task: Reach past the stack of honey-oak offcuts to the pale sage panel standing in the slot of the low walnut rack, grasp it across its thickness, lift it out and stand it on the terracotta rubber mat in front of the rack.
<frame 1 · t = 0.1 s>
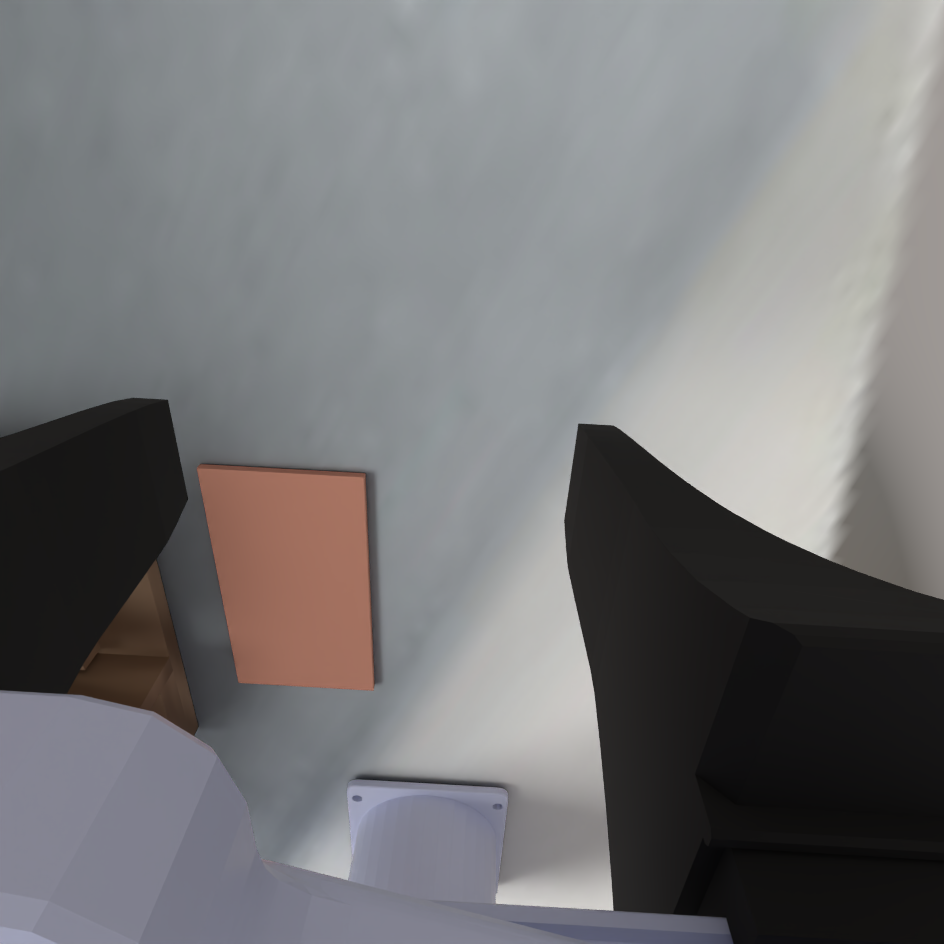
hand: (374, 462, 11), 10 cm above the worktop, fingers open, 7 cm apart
rack: (60, 600, 27), on the worktop
mat: (296, 586, 26), on the worktop
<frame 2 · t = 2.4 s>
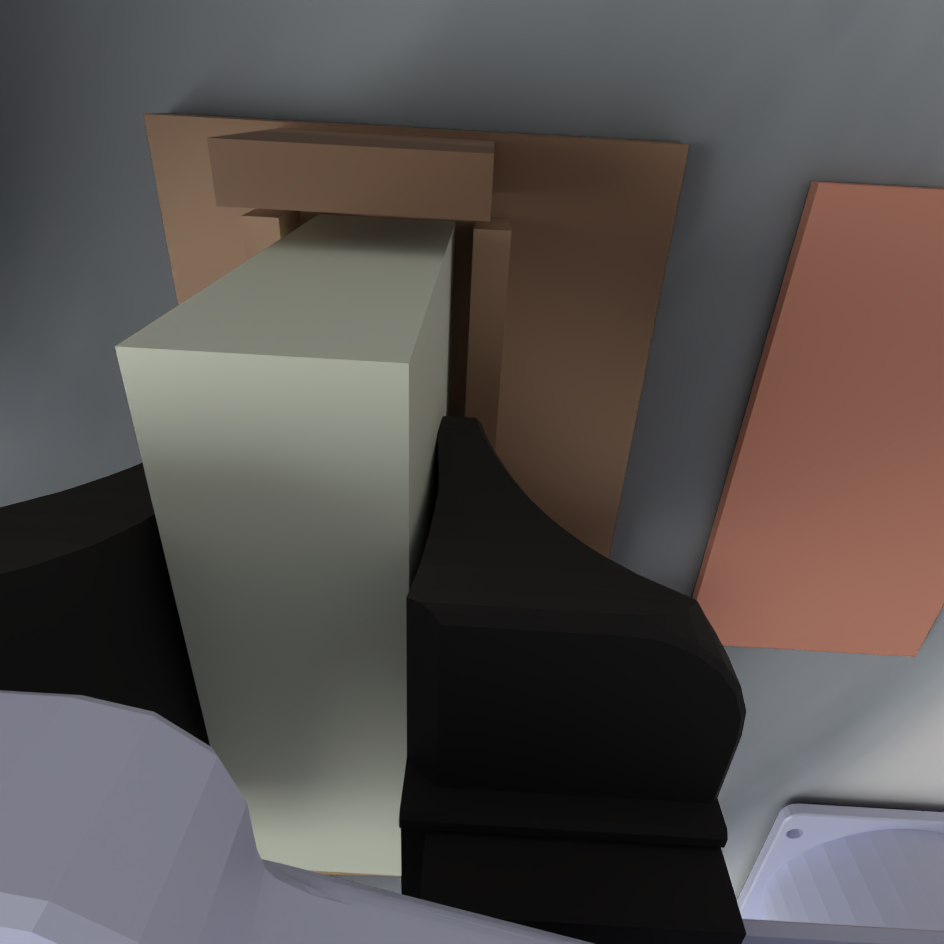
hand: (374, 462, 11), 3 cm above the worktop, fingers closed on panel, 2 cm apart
rack: (418, 490, 15), on the worktop
panel: (390, 414, 13), point 1 cm above the worktop, touching gripper, rack
mat: (869, 459, 14), on the worktop
when the fingers open (3 cm above the worktop, at t = 5.7 s): panel stays where it is, resting on mat.
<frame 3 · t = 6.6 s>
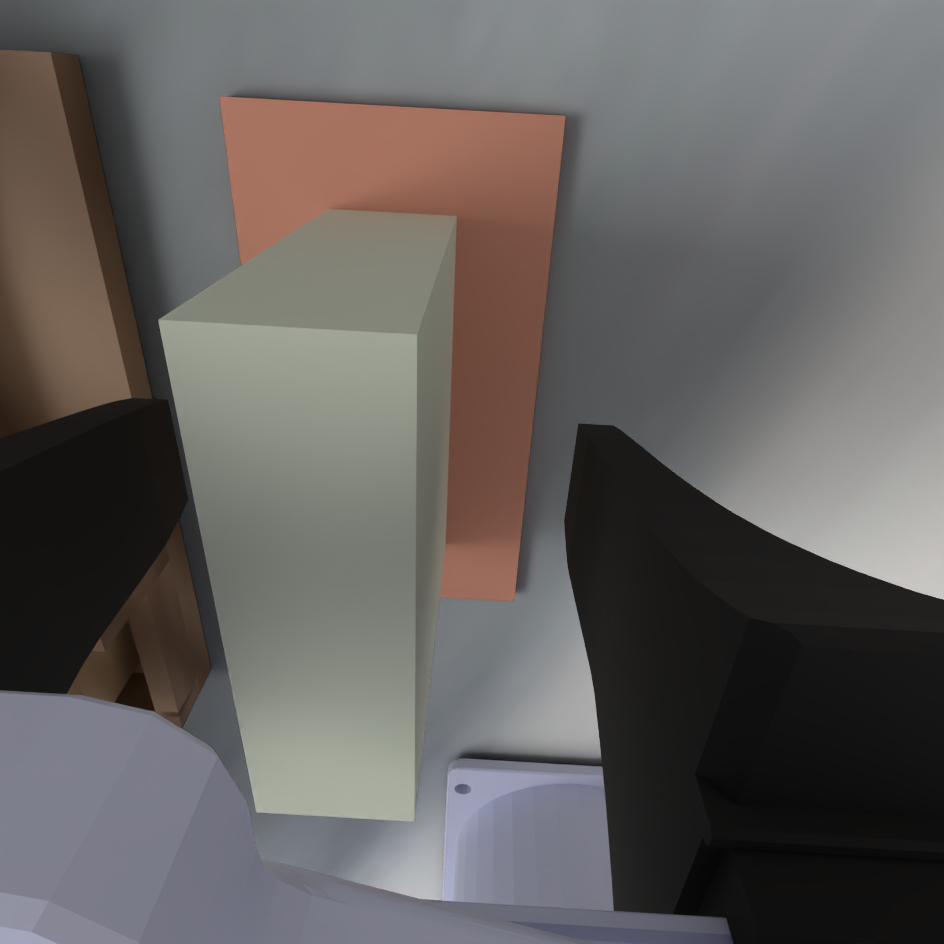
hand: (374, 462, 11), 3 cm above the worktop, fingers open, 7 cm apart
panel: (395, 399, 14), resting on mat
mat: (397, 393, 14), on the worktop
offcut lower: (11, 611, 17), point 1 cm above the worktop, touching offcut upper, rack
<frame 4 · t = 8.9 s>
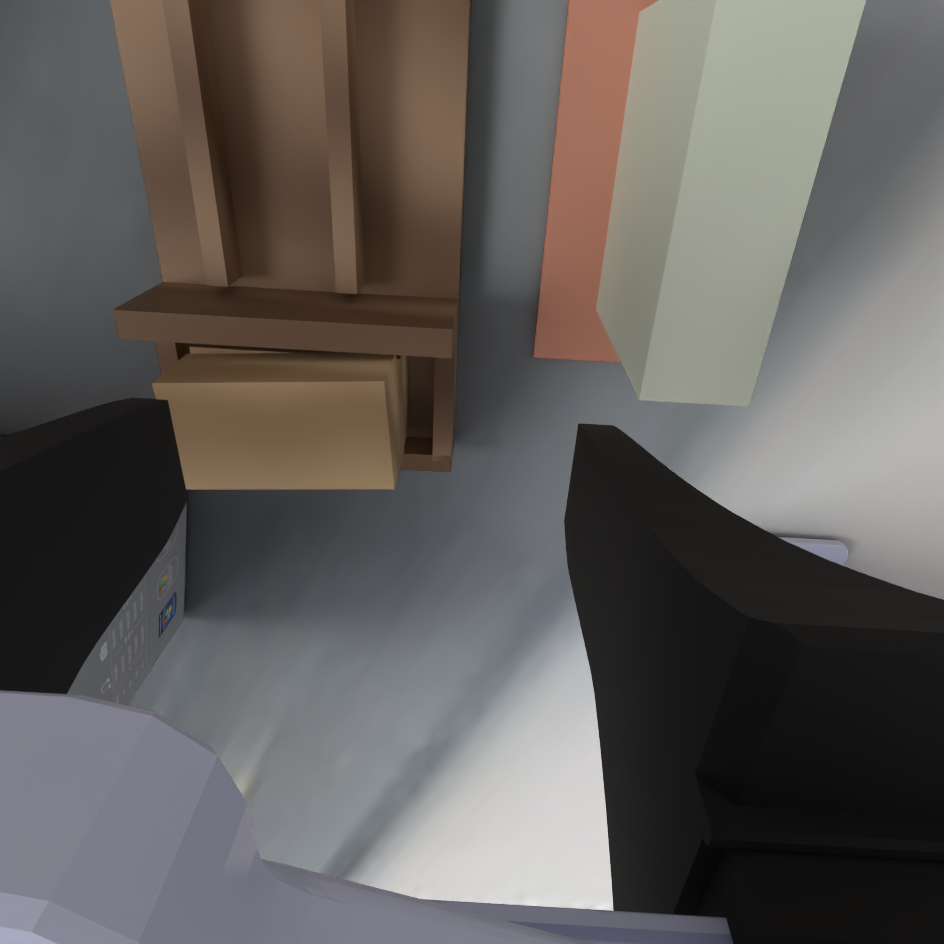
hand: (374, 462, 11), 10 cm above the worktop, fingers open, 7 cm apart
rack: (311, 212, 19), on the worktop
panel: (657, 178, 18), resting on mat
mat: (656, 176, 18), on the worktop
offcut lower: (317, 376, 21), point 1 cm above the worktop, touching offcut upper, rack
offcut upper: (299, 404, 19), point 3 cm above the worktop, touching offcut lower
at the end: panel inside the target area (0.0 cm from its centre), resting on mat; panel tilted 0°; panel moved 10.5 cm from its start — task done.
